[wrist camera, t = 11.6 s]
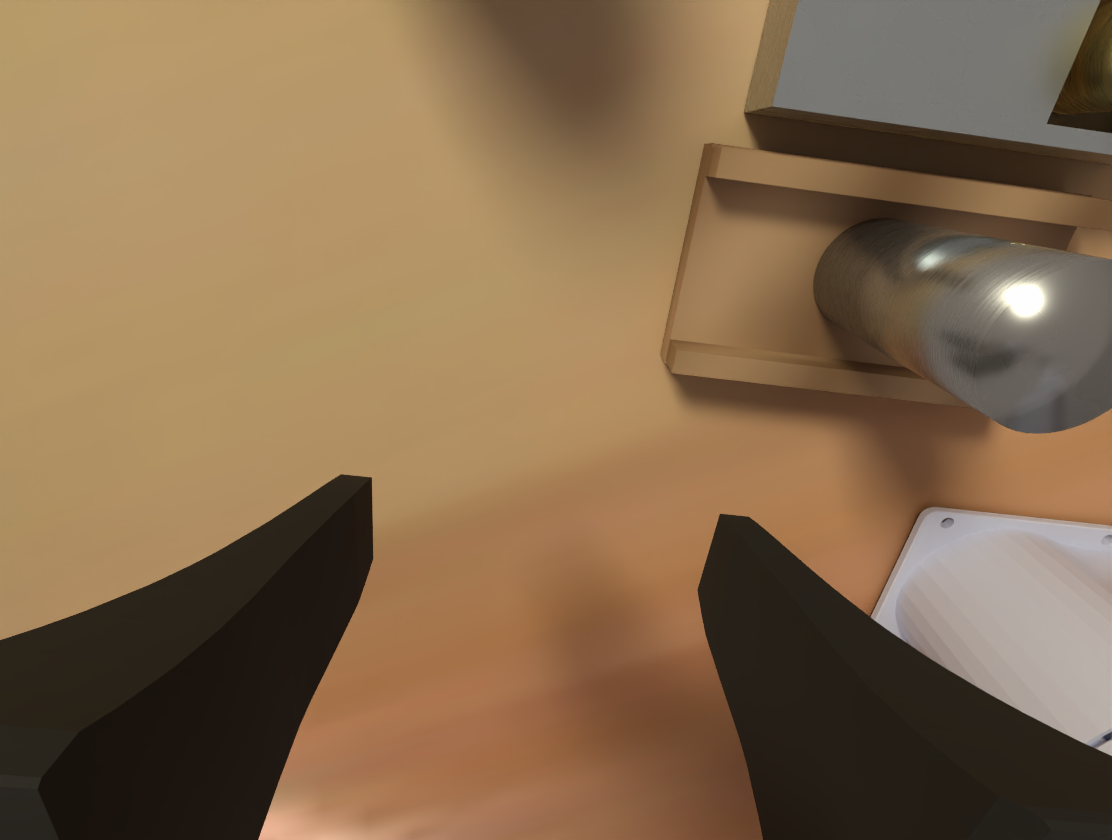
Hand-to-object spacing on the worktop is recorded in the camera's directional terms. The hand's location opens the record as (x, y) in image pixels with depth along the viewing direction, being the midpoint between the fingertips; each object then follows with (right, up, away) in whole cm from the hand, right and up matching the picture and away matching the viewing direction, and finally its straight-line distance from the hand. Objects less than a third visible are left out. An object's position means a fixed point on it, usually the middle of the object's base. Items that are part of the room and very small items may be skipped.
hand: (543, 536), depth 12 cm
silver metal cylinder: (+10, +7, +7) cm, 14 cm away
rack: (+10, +7, +8) cm, 15 cm away
